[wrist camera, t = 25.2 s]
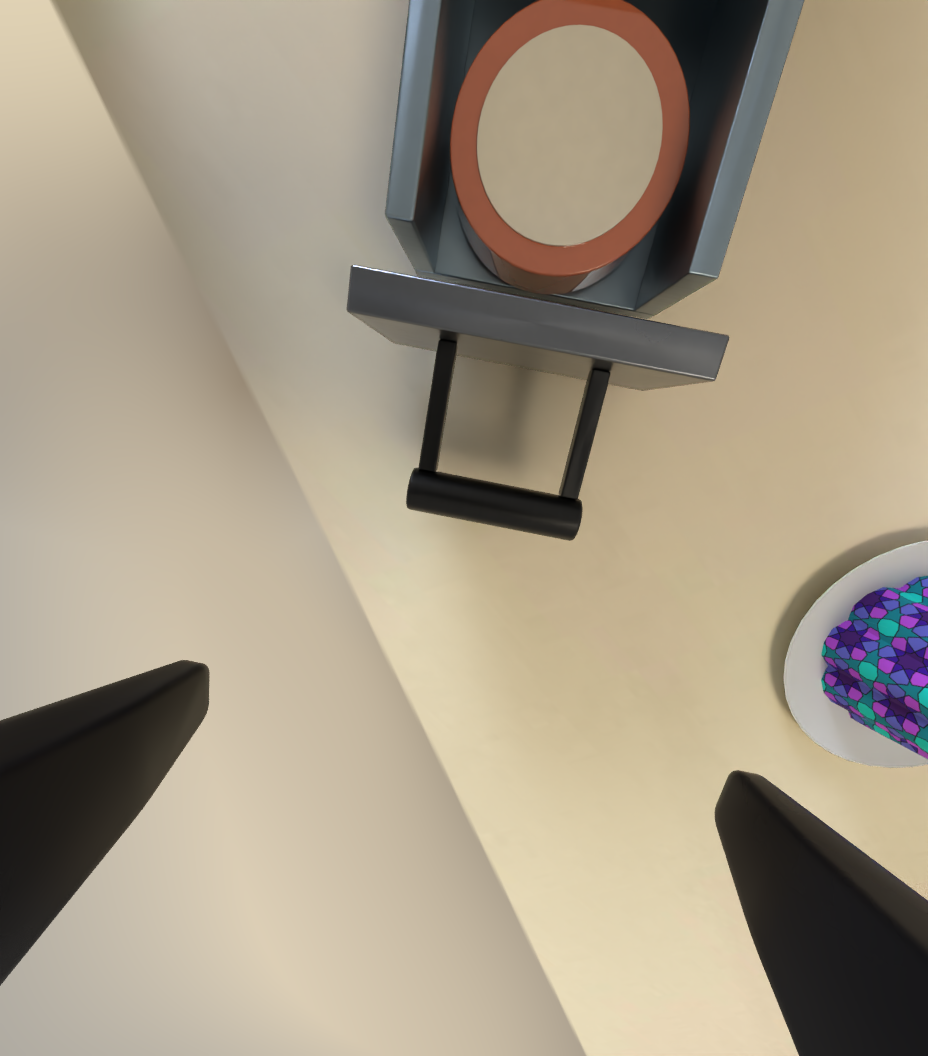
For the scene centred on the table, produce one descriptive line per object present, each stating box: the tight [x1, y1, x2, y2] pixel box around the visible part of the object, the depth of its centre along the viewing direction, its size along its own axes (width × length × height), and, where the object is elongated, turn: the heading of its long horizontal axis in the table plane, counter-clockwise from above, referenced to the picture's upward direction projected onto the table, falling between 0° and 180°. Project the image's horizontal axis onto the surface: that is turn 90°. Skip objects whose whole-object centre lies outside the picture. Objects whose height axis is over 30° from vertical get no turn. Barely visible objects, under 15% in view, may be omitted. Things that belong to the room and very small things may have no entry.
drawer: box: [347, 0, 804, 541], centre depth 13 cm, size 20×10×6 cm, turn 170°
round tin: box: [450, 0, 690, 294], centre depth 13 cm, size 7×7×3 cm
